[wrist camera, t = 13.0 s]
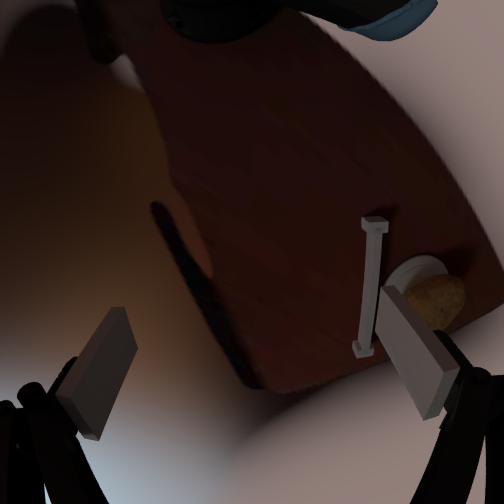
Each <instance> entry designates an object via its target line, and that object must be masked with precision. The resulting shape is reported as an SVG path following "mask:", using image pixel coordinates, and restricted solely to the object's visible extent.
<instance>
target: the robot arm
mask: <svg viewBox="0 0 504 504" xmlns="http://www.w3.org/2000/svg"><path fill="white" fill-rule="evenodd" d="M272 3H275V4H279V5H282V6H285V7H289V8H292V9H295V10H298V11H301V12H304V13H307V14H310V15H313V16H315V17H318V18H321V19H324V20H326V21H329V22H331V23H334V24H336V25H337V26H338V27H339V28H341V29H343V30H346V31H352V32H356V33H358V34H361V35H363V36H365V37H368V38H370V39H372V40H376V41H393V40H396V39H399V38H401V37H404V36H406V35H407V34H409V33H410V32H412V31H413V30H415V29H416V28H417V27H418V26H419V25H421V24H422V23H423V22H424V21H425V20H426V19H427V18H428V17H429V16H430V14H431V13H432V12H433V11H434V9H435V8H436V6H437V5H438V2H437V0H160V8H161V11H162V14H163V16H164V18H165V20H166V21H167V23H168V24H169V25H170V27H171V28H172V29H173V30H174V31H175V32H176V33H178V34H179V35H181V36H182V37H184V38H186V39H189V40H191V41H195V42H199V43H207V44H218V43H226V42H230V41H234V40H237V39H240V38H242V37H244V36H246V35H248V34H250V33H251V32H253V31H254V30H256V29H257V28H258V27H259V26H260V25H261V24H262V23H263V22H264V21H265V19H266V18H267V16H268V15H269V13H270V10H271V7H272ZM375 332H376V334H377V335H378V337H379V339H380V341H381V342H382V344H383V346H384V348H385V349H386V351H387V353H388V355H389V357H390V358H391V360H392V362H393V364H394V366H395V367H396V369H397V371H398V373H399V375H400V377H401V378H402V380H403V382H404V384H405V386H406V387H407V390H408V391H409V393H410V395H411V397H412V399H413V401H414V403H415V405H416V407H417V409H418V411H419V413H420V414H421V417H422V419H423V420H427V419H430V418H433V417H436V416H439V414H440V412H441V410H442V408H443V406H444V408H445V410H446V411H447V414H446V416H445V418H444V419H443V421H442V423H441V425H440V427H439V428H440V429H441V430H440V433H439V436H438V439H437V441H436V444H435V447H434V450H433V452H432V455H431V457H430V460H429V462H428V465H427V467H426V470H425V472H424V474H423V476H422V479H421V481H420V483H419V485H418V488H417V490H416V492H415V494H414V496H413V498H412V500H411V502H410V504H466V502H467V499H468V496H469V493H470V490H471V487H472V483H473V480H474V477H475V474H476V470H477V466H478V463H479V458H480V455H481V450H482V446H483V441H484V437H485V443H486V488H485V504H504V375H493V376H491V374H490V373H489V372H488V371H487V370H486V369H483V368H481V367H473V366H472V364H471V363H470V362H469V361H468V359H467V358H466V357H465V356H464V354H463V353H462V352H461V351H460V349H458V347H457V346H456V344H455V343H453V341H452V339H450V337H449V336H448V335H447V334H446V333H444V332H443V331H441V330H439V329H437V330H433V331H432V330H431V329H430V328H429V326H428V325H427V324H426V323H425V321H424V320H423V319H422V318H421V316H420V315H419V314H418V313H417V312H416V310H415V309H414V308H413V307H412V306H411V304H410V303H409V302H408V301H407V300H406V299H405V297H404V296H403V295H402V294H401V293H400V292H399V290H398V289H397V288H396V287H395V286H394V285H390V286H382V287H381V289H380V298H379V306H378V313H377V320H376V327H375ZM137 350H138V347H137V344H136V341H135V338H134V335H133V333H132V329H131V326H130V323H129V320H128V317H127V313H126V310H125V307H111V309H110V311H109V312H108V313H107V315H106V316H105V318H104V319H103V321H102V322H101V323H100V325H99V326H98V328H97V329H96V331H95V332H94V334H93V335H92V337H91V338H90V340H89V341H88V343H87V344H86V346H85V347H84V349H83V350H82V352H81V353H80V355H79V357H73V358H72V359H70V360H69V361H68V362H67V363H66V364H65V366H64V367H63V369H62V372H60V374H59V375H58V378H56V380H55V381H54V383H53V384H52V386H51V388H50V389H49V391H48V393H46V392H45V390H44V389H43V387H42V385H41V384H40V383H38V382H31V383H28V384H26V385H24V386H23V387H22V388H21V389H20V390H19V392H18V393H17V399H18V400H19V402H20V403H21V405H22V406H23V408H15V406H14V405H13V403H12V402H11V401H9V400H3V401H0V504H46V501H45V489H44V484H45V487H46V490H47V493H48V496H49V498H50V501H51V504H109V503H108V501H107V499H106V497H105V495H104V494H103V492H102V490H101V488H100V486H99V484H98V482H97V480H96V478H95V476H94V474H93V472H92V470H91V468H90V465H89V463H88V461H87V459H86V457H85V454H84V452H83V450H82V447H81V445H80V443H79V440H78V439H77V438H76V434H77V432H78V430H79V432H80V433H81V435H82V436H83V437H84V438H86V439H90V440H95V441H99V440H100V437H101V435H102V432H103V430H104V427H105V424H106V422H107V419H108V417H109V415H110V412H111V410H112V407H113V405H114V403H115V400H116V398H117V395H118V393H119V391H120V388H121V386H122V384H123V381H124V379H125V376H126V374H127V372H128V370H129V368H130V365H131V363H132V361H133V358H134V356H135V354H136V352H137Z"/></svg>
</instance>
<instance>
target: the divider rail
mask: <svg viewBox="0 0 504 504" xmlns="http://www.w3.org/2000/svg"><path fill="white" fill-rule="evenodd" d="M388 223H389V222H388V221H387V220H386V219H384V218H383V217H381V216H372V217H362V228H363V229H364V230H365V231H366V232H367V244H366V261H365V276H364V288H363V299H362V309H361V318H360V326H359V334H358V340H354V341H353V345H352V349H353V351H354V353H355V355H356V358H361V357H367V356H373V352H374V347H373V345H372V343H371V336H372V329H373V322H374V315H375V308H376V300H377V291H378V282H379V271H380V260H381V246H382V233H388Z"/></svg>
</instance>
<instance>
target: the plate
mask: <svg viewBox="0 0 504 504" xmlns="http://www.w3.org/2000/svg"><path fill="white" fill-rule="evenodd" d="M439 274H448V271H447V269H446V267H445V265H444V264H443V263H442V262H441V261H440V260H438V259H437V258H435V257H433V256H431V255H416V256H413V257H410V258H408V259H406V260H404V261H403V262H401V263H400V264H399V265H398V266H397V267H395V268H394V269H393V271H392V272H391V273H390V274H389V276H388V277H387V279H386V280H385V282H384V284H383V286H390V285H394V286H395V287H396V288H397V289H398V290H399V292H400V293H401V294H402V295H404V294H405V293H406V292H407V291H408V290H409V289H410V288H412V287H413V286H415V285H416V284H418V283H419V282H421V281H423V280H425V279H427V278H429V277H432V276H434V275H439Z"/></svg>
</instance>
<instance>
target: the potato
mask: <svg viewBox="0 0 504 504" xmlns="http://www.w3.org/2000/svg"><path fill="white" fill-rule="evenodd" d="M403 296H404V297H405V299H406V300H407V301H408V302H409V303H410V304H411V306H412V307H413V308H414V309H415V310H416V312H417V313H418V314H419V315H420V316H421V318H422V319H423V320H424V321H425V323H426V324H427V325H428V326H429V328H430V329H431V330H432V331H433V330H437V329H439V330H441V331H443V330H444V329H445V328H446V327H447V326H448V325H449V324H450V322H451V321H452V320H453V319H454V317H455V316H456V315H457V314H458V313H459V312H460V310H461V309H462V307H463V305H464V302H465V299H466V296H467V290H466V287H465V285H464V283H463V281H462V279H461V278H459V277H456V276H453V275H449V274H439V275H434V276H432V277H429V278H427V279H425V280H423V281H421V282H419V283H418V284H416V285H415V286H413V287H412V288H410V289H409V290H408V291H407V292H406V293H405V294H404V295H403Z"/></svg>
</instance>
